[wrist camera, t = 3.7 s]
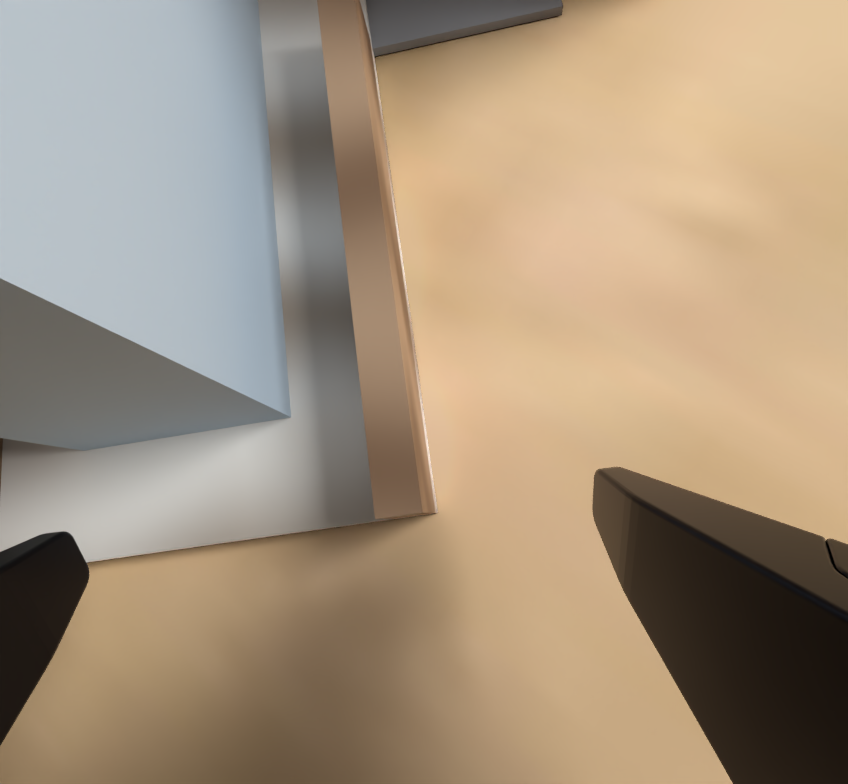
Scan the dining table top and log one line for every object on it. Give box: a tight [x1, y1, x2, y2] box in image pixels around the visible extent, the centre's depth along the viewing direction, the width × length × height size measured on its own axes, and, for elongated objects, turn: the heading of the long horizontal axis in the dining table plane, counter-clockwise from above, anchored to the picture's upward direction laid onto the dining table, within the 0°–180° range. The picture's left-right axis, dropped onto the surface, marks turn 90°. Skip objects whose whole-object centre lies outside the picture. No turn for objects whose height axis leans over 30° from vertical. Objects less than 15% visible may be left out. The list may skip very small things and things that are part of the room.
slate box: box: [0, 0, 291, 451], centre depth 12 cm, size 14×6×10 cm, turn 8°
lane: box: [0, 0, 563, 563], centre depth 15 cm, size 26×25×5 cm
